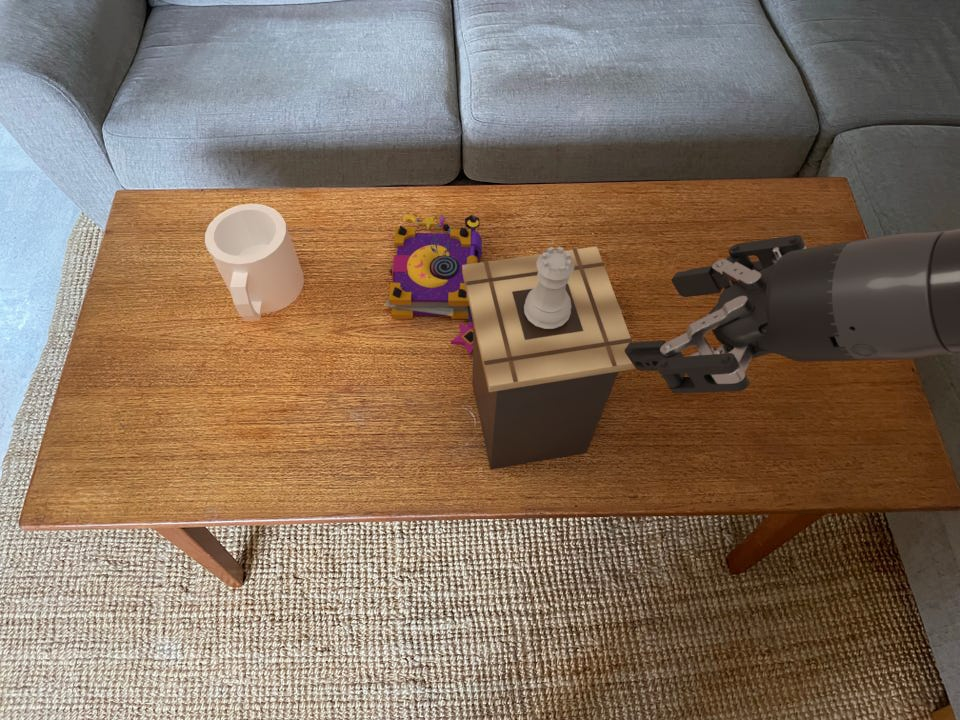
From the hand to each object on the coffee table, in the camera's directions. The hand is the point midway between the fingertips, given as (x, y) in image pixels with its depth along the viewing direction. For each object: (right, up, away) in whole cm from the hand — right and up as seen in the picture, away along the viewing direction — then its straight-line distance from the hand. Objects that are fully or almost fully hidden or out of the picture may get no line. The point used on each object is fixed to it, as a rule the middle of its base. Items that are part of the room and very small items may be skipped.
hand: (654, 319), depth 53 cm
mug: (-45, +6, +38) cm, 59 cm away
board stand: (-8, -11, +28) cm, 31 cm away
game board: (-8, +1, +9) cm, 12 cm away
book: (-20, +7, +39) cm, 44 cm away
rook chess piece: (-8, +1, +8) cm, 12 cm away
